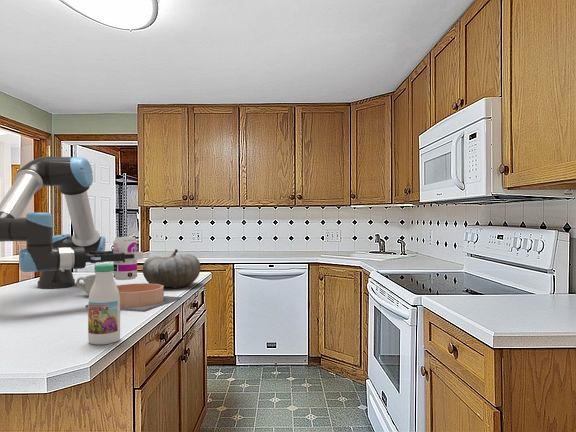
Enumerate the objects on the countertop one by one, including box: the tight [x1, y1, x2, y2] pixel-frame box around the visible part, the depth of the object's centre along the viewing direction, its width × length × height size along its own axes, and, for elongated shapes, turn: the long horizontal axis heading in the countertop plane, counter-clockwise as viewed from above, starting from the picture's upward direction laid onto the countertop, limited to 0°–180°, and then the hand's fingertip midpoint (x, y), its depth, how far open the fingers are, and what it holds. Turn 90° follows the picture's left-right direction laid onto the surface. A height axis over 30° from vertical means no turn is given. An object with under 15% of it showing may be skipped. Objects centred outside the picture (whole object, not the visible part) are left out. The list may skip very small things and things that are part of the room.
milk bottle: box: [87, 263, 121, 346], centre depth 118 cm, size 8×8×20 cm
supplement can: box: [112, 236, 138, 281], centre depth 165 cm, size 8×8×15 cm
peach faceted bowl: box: [85, 282, 182, 313], centre depth 168 cm, size 24×24×6 cm
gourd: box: [142, 248, 202, 289], centre depth 204 cm, size 25×25×17 cm
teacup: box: [75, 274, 96, 296], centre depth 182 cm, size 14×11×8 cm
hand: (138, 254), depth 168 cm, fingers closed on supplement can, 8 cm apart
